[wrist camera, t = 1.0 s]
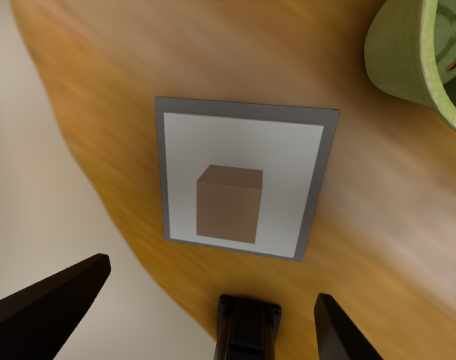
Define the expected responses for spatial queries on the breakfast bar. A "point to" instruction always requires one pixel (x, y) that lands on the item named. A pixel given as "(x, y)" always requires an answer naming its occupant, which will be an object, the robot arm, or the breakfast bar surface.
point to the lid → (239, 180)
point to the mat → (251, 112)
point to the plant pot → (415, 53)
